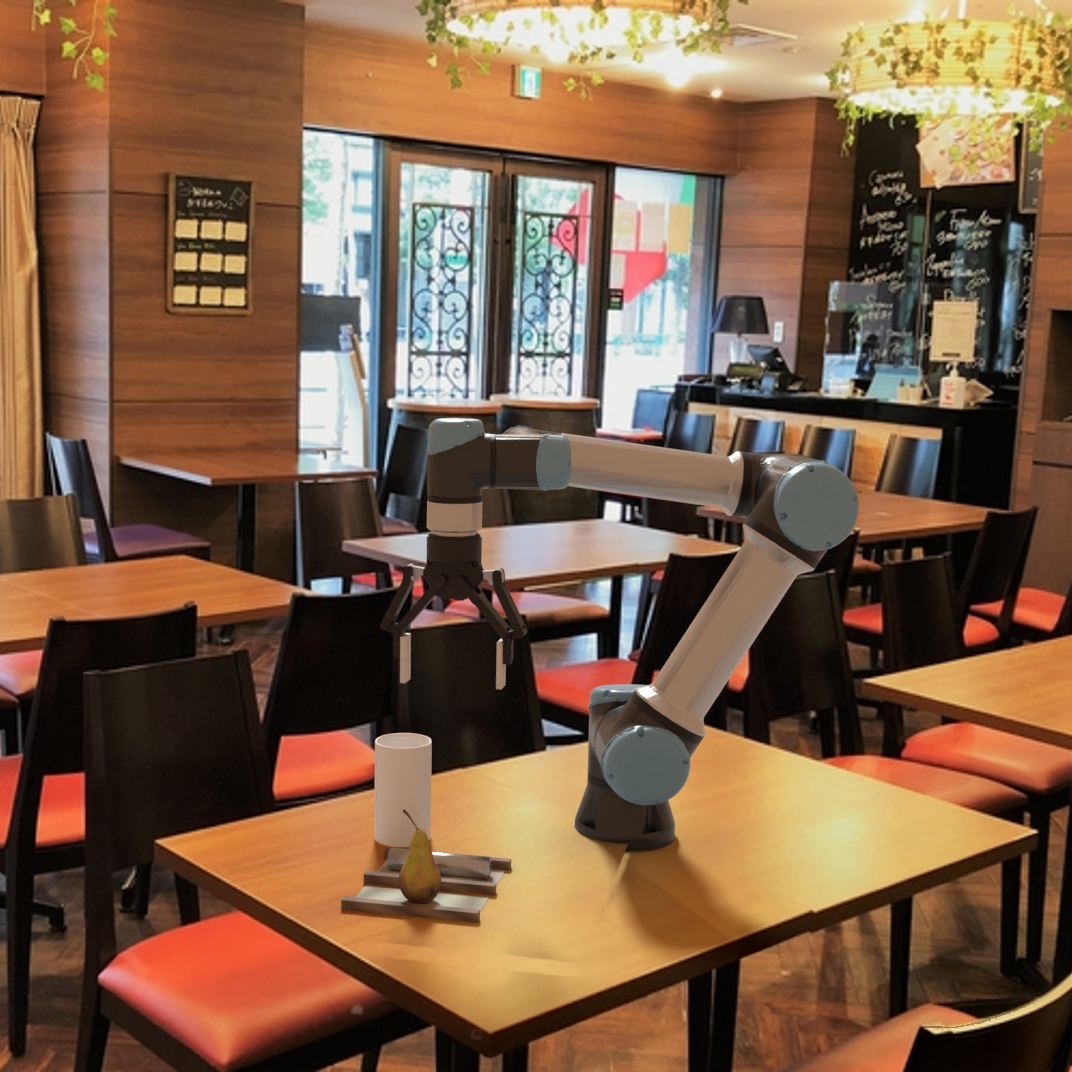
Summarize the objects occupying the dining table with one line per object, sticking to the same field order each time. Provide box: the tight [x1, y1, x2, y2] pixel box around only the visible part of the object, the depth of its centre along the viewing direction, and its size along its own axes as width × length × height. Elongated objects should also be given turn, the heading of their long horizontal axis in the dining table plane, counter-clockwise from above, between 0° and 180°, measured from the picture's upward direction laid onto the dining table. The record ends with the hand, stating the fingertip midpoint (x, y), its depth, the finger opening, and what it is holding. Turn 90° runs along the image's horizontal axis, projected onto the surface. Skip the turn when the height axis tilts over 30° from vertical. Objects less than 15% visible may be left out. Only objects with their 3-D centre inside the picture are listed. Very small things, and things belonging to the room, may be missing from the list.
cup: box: [373, 732, 433, 848], centre depth 219 cm, size 8×8×16 cm
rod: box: [386, 847, 492, 879], centre depth 205 cm, size 14×3×3 cm, turn 79°
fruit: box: [398, 810, 441, 904], centre depth 195 cm, size 6×6×12 cm
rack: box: [340, 847, 512, 924], centre depth 201 cm, size 18×20×3 cm
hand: (452, 684), depth 208 cm, fingers open, 13 cm apart
